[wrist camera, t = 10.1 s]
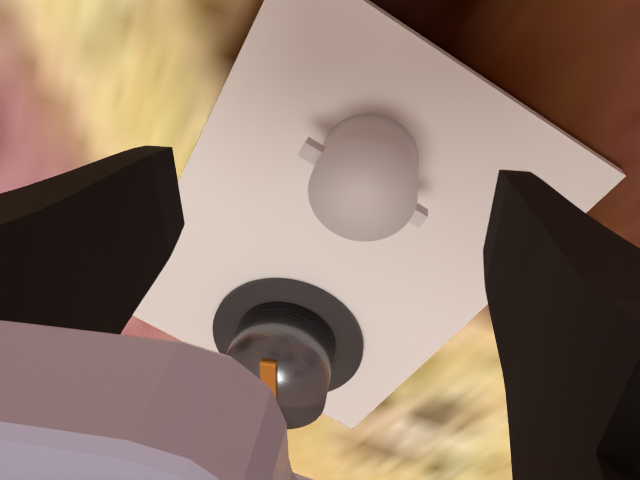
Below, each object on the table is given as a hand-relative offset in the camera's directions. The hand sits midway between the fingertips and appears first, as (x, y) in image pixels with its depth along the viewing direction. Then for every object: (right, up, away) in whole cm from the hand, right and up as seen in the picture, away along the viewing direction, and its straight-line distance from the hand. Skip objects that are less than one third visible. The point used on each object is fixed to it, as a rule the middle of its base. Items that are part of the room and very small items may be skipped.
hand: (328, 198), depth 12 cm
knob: (-2, -6, +16) cm, 17 cm away
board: (0, -1, +13) cm, 13 cm away
